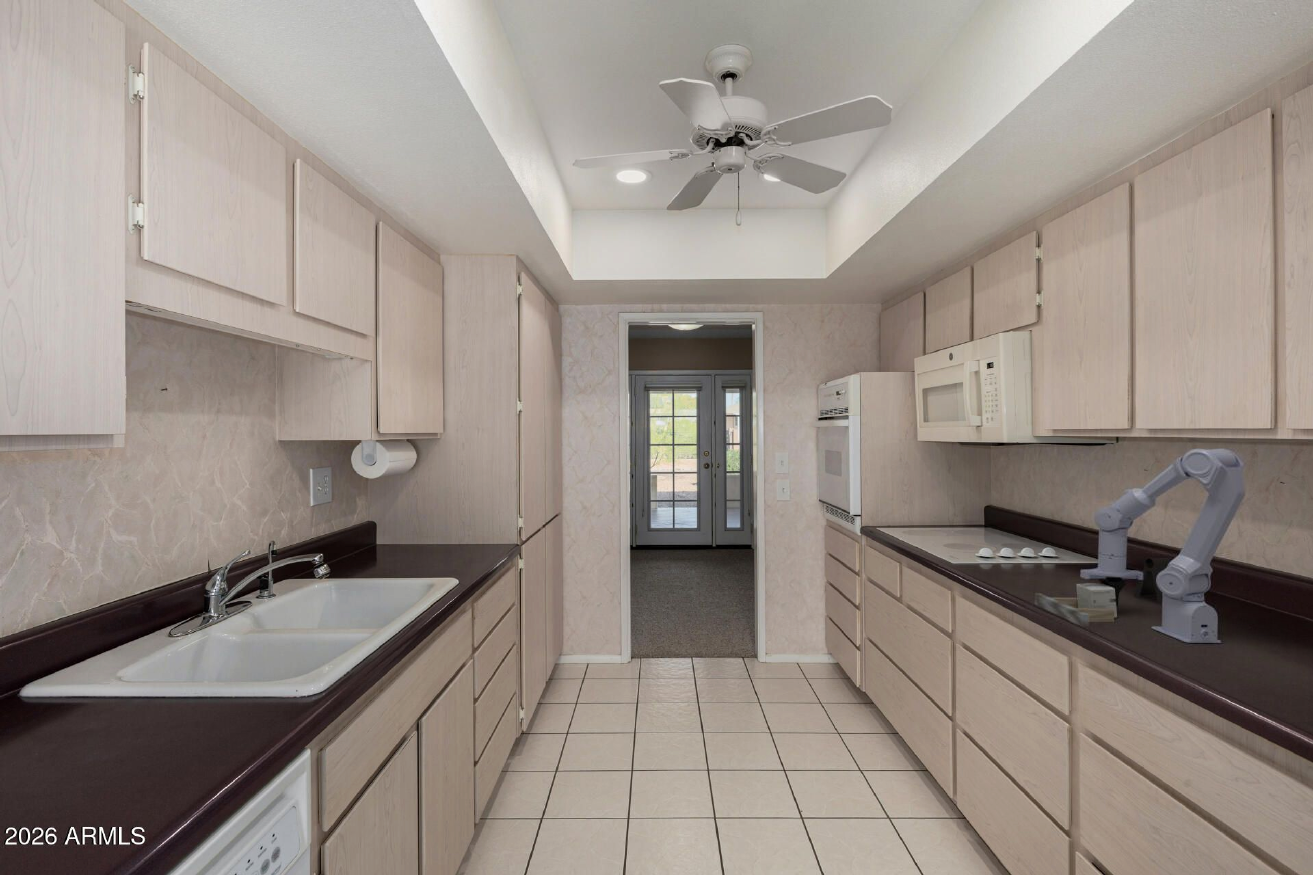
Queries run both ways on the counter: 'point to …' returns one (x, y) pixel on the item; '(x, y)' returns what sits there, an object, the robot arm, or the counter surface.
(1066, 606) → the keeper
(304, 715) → the counter surface
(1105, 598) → the skincare box
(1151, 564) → the door stopper
